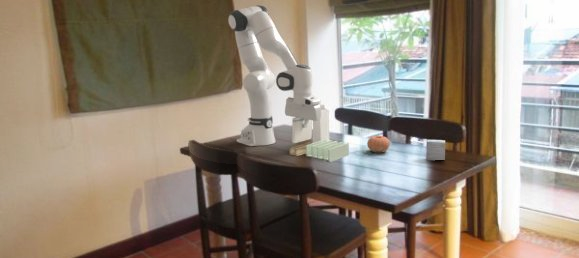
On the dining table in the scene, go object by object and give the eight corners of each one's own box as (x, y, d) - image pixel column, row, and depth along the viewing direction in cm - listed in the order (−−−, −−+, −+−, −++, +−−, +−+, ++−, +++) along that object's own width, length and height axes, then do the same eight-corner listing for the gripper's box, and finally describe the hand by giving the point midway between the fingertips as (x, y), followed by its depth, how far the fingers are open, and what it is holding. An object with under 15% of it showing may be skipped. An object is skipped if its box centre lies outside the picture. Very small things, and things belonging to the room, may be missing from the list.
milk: (320, 148, 239) (319, 106, 234) (313, 146, 244) (311, 104, 239) (329, 146, 242) (328, 104, 238) (322, 144, 247) (321, 103, 242)
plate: (291, 142, 227) (292, 118, 224) (308, 138, 236) (309, 114, 234) (294, 143, 226) (295, 118, 223) (311, 138, 235) (312, 115, 233)
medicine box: (444, 158, 214) (445, 140, 212) (444, 161, 209) (445, 142, 208) (426, 157, 216) (427, 139, 214) (426, 160, 212) (426, 141, 210)
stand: (288, 155, 228) (288, 147, 227) (309, 148, 239) (309, 141, 238) (297, 157, 224) (297, 149, 223) (319, 150, 235) (318, 142, 234)
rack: (306, 157, 223) (305, 145, 222) (325, 150, 234) (325, 139, 233) (329, 162, 214) (329, 149, 213) (348, 155, 225) (348, 142, 224)
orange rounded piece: (380, 147, 237) (380, 132, 235) (394, 152, 227) (394, 136, 226) (362, 151, 232) (362, 135, 230) (376, 155, 222) (376, 139, 221)
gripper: (282, 97, 231) (282, 124, 234) (315, 102, 218) (314, 131, 221) (290, 95, 235) (290, 122, 238) (323, 100, 222) (322, 129, 225)
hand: (302, 127), depth 229 cm, fingers closed on plate, 2 cm apart
